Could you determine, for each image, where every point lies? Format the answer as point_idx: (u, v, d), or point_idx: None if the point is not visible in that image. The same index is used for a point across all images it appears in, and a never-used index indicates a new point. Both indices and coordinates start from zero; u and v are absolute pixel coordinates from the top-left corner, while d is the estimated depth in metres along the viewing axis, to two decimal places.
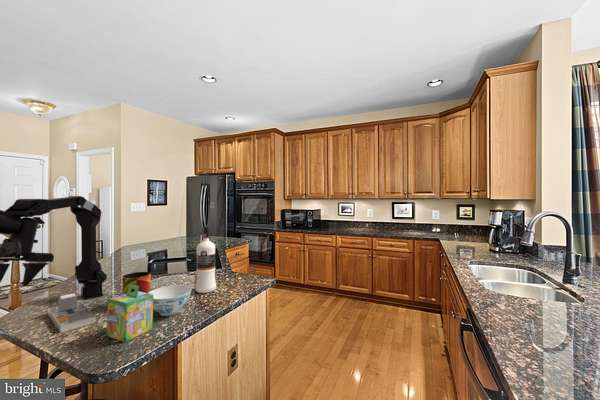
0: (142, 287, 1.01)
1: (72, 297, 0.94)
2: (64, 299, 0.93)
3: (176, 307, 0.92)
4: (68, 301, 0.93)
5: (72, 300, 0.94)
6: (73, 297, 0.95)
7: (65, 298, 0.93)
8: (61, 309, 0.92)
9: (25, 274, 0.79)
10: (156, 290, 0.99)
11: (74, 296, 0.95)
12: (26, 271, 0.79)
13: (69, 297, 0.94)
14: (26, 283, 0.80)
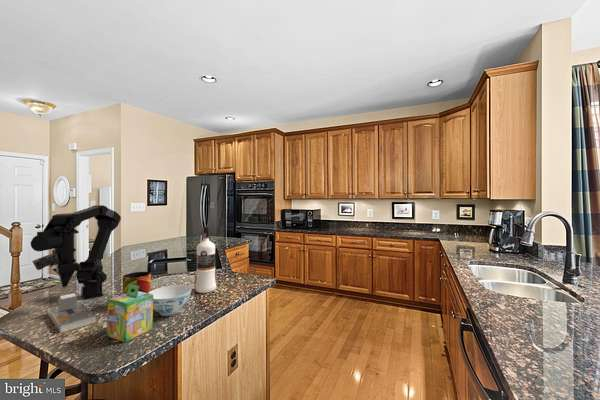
0: (142, 287, 1.01)
1: (72, 297, 0.94)
2: (64, 299, 0.93)
3: (176, 307, 0.92)
4: (68, 301, 0.93)
5: (72, 300, 0.94)
6: (73, 297, 0.95)
7: (65, 298, 0.93)
8: (61, 309, 0.92)
9: (60, 278, 0.97)
10: (156, 290, 0.99)
11: (74, 296, 0.95)
12: (60, 276, 0.97)
13: (69, 297, 0.94)
14: (64, 285, 0.98)
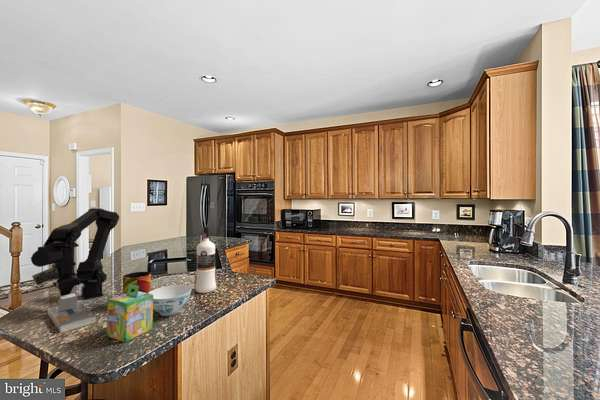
0: (142, 287, 1.01)
1: (72, 297, 0.94)
2: (64, 299, 0.93)
3: (176, 307, 0.92)
4: (68, 301, 0.93)
5: (72, 300, 0.94)
6: (73, 297, 0.95)
7: (65, 298, 0.93)
8: (61, 309, 0.92)
9: (60, 293, 0.97)
10: (156, 290, 0.99)
11: (74, 296, 0.95)
12: (60, 290, 0.96)
13: (69, 297, 0.94)
14: None
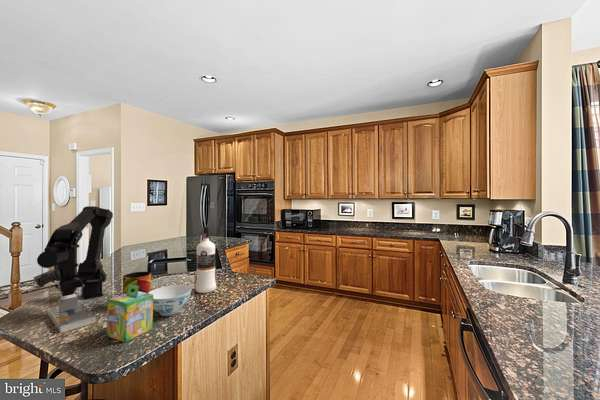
0: (142, 287, 1.01)
1: (73, 298, 0.94)
2: (65, 300, 0.92)
3: (176, 307, 0.92)
4: (69, 302, 0.93)
5: (73, 301, 0.94)
6: (74, 298, 0.94)
7: (66, 299, 0.92)
8: (62, 310, 0.91)
9: (62, 295, 0.94)
10: (156, 290, 0.99)
11: (75, 297, 0.94)
12: (62, 292, 0.94)
13: (70, 298, 0.93)
14: None
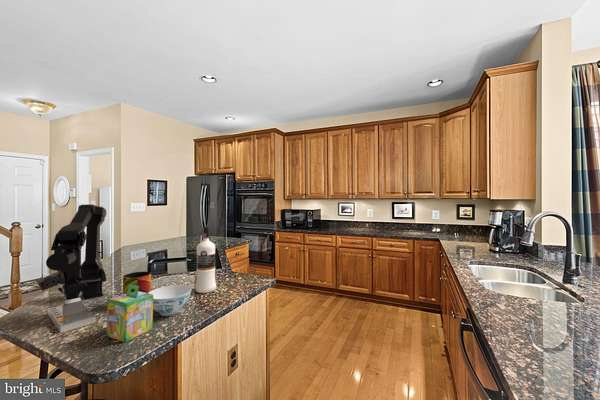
0: (143, 287, 1.01)
1: (77, 302, 0.90)
2: (69, 304, 0.88)
3: (176, 307, 0.92)
4: (73, 306, 0.89)
5: (77, 305, 0.90)
6: (78, 302, 0.90)
7: (70, 303, 0.88)
8: (66, 314, 0.87)
9: (66, 299, 0.90)
10: (156, 290, 0.99)
11: (79, 301, 0.90)
12: (65, 296, 0.90)
13: (74, 302, 0.89)
14: None
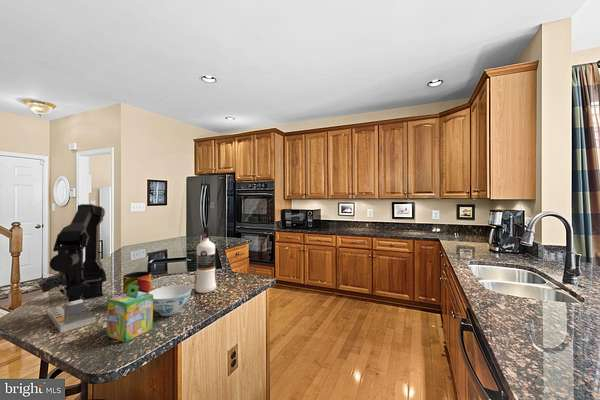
0: (143, 287, 1.01)
1: (79, 303, 0.88)
2: (71, 306, 0.87)
3: (176, 307, 0.92)
4: (75, 308, 0.87)
5: (79, 307, 0.88)
6: (80, 303, 0.89)
7: (72, 305, 0.87)
8: (67, 316, 0.86)
9: (68, 300, 0.89)
10: (156, 290, 0.99)
11: (81, 302, 0.89)
12: (67, 298, 0.88)
13: (76, 303, 0.88)
14: None
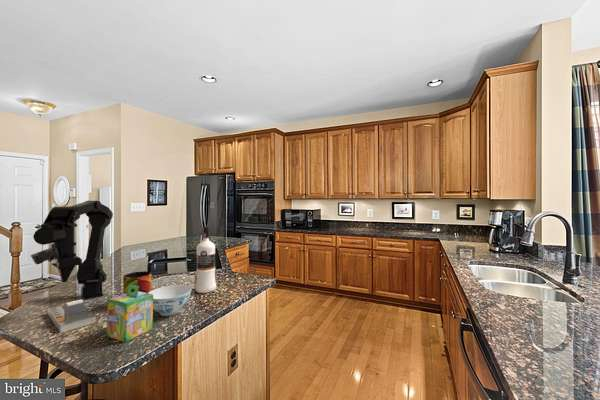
0: (143, 287, 1.02)
1: (79, 304, 0.88)
2: (71, 306, 0.86)
3: (176, 307, 0.92)
4: (75, 308, 0.87)
5: (79, 307, 0.88)
6: (80, 304, 0.88)
7: (72, 305, 0.87)
8: None
9: (60, 273, 0.94)
10: (156, 290, 0.99)
11: (81, 302, 0.89)
12: (60, 271, 0.93)
13: (76, 304, 0.88)
14: (64, 280, 0.95)
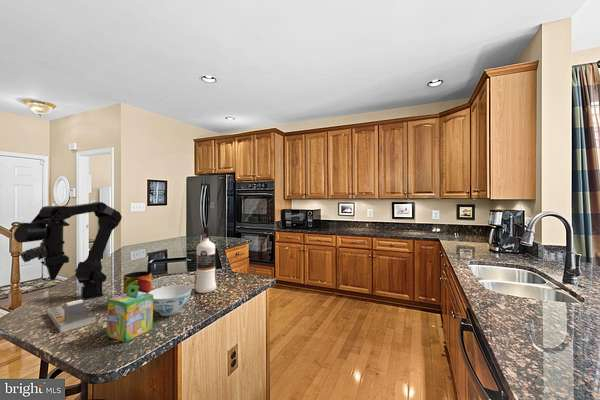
0: (143, 286, 1.02)
1: (79, 304, 0.88)
2: (71, 306, 0.86)
3: (176, 307, 0.92)
4: (75, 308, 0.87)
5: (79, 307, 0.88)
6: (80, 304, 0.88)
7: (72, 305, 0.87)
8: None
9: (48, 271, 0.96)
10: (156, 290, 0.99)
11: (81, 302, 0.89)
12: (48, 268, 0.95)
13: (76, 304, 0.88)
14: (52, 278, 0.97)
